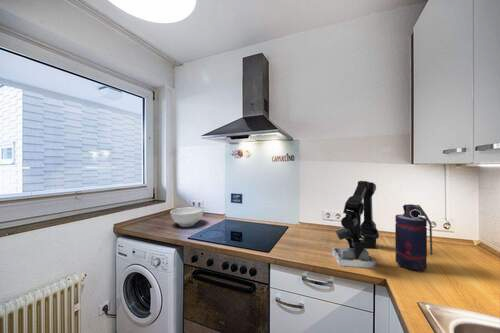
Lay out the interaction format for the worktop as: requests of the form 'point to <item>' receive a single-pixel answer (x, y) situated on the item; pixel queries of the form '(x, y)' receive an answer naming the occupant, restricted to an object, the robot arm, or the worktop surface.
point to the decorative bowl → (187, 215)
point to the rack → (354, 262)
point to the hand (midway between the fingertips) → (354, 255)
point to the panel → (353, 254)
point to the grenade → (412, 238)
